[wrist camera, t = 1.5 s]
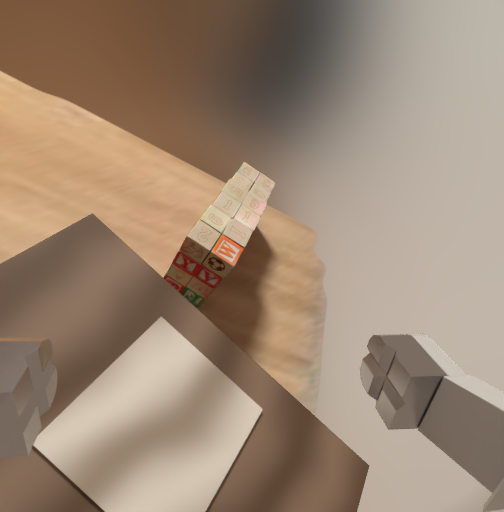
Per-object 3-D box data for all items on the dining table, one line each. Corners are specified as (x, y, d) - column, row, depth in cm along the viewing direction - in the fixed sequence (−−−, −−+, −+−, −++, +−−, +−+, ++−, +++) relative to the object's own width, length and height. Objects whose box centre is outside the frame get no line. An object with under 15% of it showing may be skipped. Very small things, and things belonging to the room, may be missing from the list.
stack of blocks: (222, 198, 59) (253, 146, 50) (251, 218, 60) (287, 170, 51) (159, 285, 45) (186, 234, 36) (198, 309, 46) (235, 266, 37)
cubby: (-72, 413, 29) (-171, 354, 16) (78, 301, 39) (92, 211, 26) (179, 646, 28) (287, 781, 15) (264, 472, 39) (372, 465, 26)
